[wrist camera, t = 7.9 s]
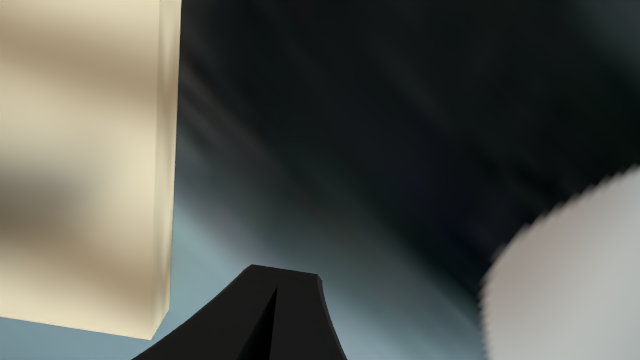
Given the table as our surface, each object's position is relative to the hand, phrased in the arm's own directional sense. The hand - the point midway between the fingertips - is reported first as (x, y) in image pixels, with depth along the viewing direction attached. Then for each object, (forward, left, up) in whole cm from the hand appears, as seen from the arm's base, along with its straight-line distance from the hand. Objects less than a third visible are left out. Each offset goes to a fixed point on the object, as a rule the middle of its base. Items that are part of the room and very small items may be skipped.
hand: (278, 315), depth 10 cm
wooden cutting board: (+3, +15, -9) cm, 18 cm away
